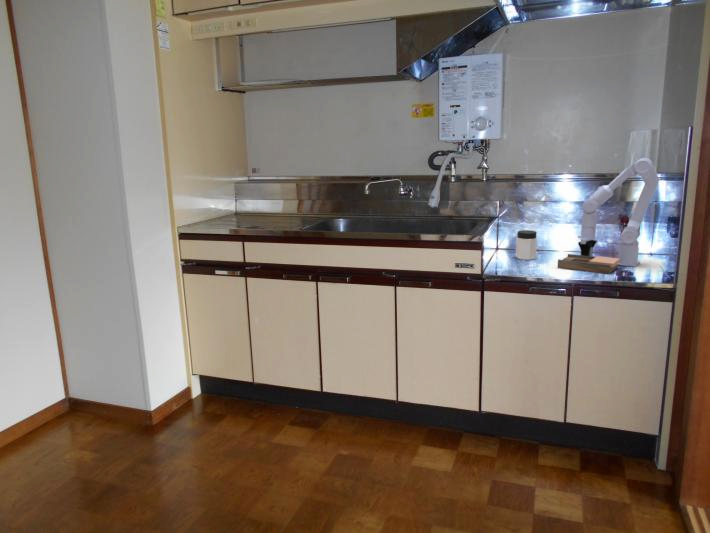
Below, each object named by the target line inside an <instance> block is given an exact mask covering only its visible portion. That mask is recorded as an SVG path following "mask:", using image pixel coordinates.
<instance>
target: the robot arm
mask: <svg viewBox="0 0 710 533" xmlns="http://www.w3.org/2000/svg"><path fill="white" fill-rule="evenodd" d="M637 175H638V176H639V177H641V179H642V181H643V183H644V185H643V188H642V189H641V190H642V191H641V193H640V195H639V197H638V198H637V199H638V200H637V202H636V204H635V206H634V209H633V212H632V214H631V216H630V218H629V221H628V223H627V226H626V227H625V228H624V229H623V230H622V232H621V233H620V237H619V238H620V241H619V243H618V244H619V245H618V256H617V258H619V259H620V262H619V263H618V266H625V267H626V266H627V267H637V266H638V265H639V264H640V263H641V261H639V260H638V259H639V250H640V249H639V244H640V243H639V241H638V240H637V239H638V237H639V235H640V234H639V232H640V231H639V229H640V227H641V224H642V222H643V220H644V218H645V214H646V213H647V211H648V209H649V206H650V204H651V201H652V198H653V196H654V194H655V191H656V190H657V187H658V185H659V182H660V181H659V177H658V173H657V168H656V164H654V162H653V161H652V159H650V158H648V157H642V158H639V159H638V160H637V161H635V162H634V163H632V164H631V165H629V166H627V167H626V168H624V170H623V171H621V172H620V173H619V174H618V175H617V176H616V177H615V178H614V179H612V181H610V183H608V184H606V185H605V184H604V185H601V186H598V187H597V190H596V191H595V192H593V193H592V194H591V195H588V199H585V200H584V201H583V203H582V207H581V208H582V217H581V227H580V228H581V229H580V231H581V232H580V235H578V236H577V239H580V241H579V242H578V244H577V245H578V246H579V249H580V255H581V254H582V255H584V256H589V251H590V248H591V247H593V249H594V248H595V245H596V244H597V242H598V240H596V238H597V236H596V232H597V231H596V230H597V229H596V228H597V218H598V217H597V211H598V208H600V207H599V206H602V205H603V204H605V203H606V202H607V201H608V200H609V199H610V198H612V197H613V196H614V191H615V189H617V188H618V187H619V186H620V185H621V184H622V183H624V182H625V181H626V180H627V179H629V178H632V177H635V176H637Z"/></svg>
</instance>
